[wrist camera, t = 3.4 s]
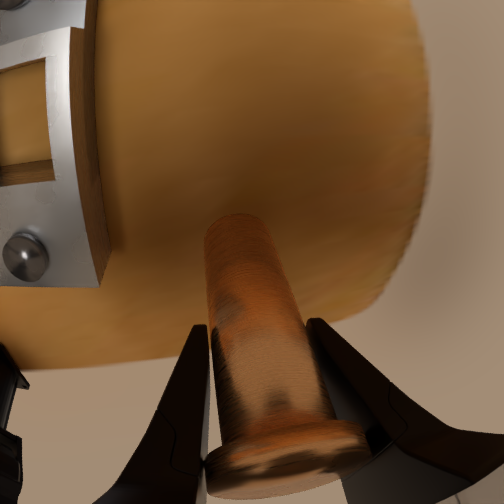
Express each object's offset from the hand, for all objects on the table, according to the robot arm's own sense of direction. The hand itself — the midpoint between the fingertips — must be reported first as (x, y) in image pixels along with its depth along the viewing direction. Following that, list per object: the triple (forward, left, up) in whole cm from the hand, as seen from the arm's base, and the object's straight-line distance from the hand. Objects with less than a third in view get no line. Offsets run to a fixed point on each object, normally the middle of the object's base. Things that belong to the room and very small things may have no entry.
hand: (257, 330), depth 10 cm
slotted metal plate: (+6, +10, -8) cm, 14 cm away
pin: (0, 0, -5) cm, 5 cm away
